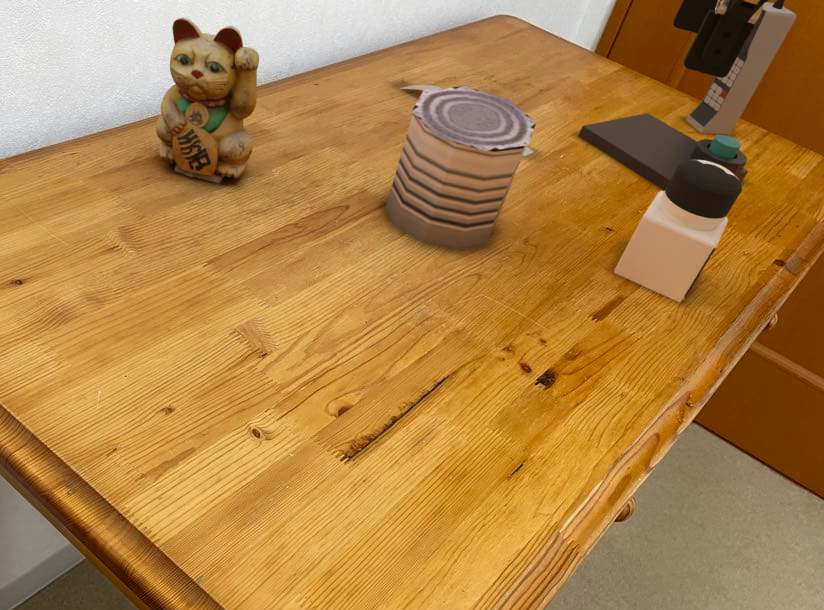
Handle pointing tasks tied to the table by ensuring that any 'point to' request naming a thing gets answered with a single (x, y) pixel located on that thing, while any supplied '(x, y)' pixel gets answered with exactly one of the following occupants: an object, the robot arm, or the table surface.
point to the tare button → (724, 146)
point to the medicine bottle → (681, 229)
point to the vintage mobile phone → (743, 73)
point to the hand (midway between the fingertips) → (696, 50)
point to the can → (457, 166)
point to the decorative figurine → (208, 103)
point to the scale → (654, 147)
